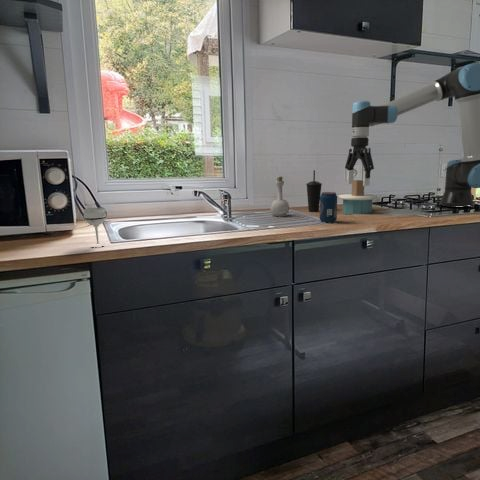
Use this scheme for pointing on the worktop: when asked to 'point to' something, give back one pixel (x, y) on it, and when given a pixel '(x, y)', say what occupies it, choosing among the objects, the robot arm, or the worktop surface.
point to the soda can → (328, 207)
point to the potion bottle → (279, 201)
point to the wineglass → (95, 217)
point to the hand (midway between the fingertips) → (358, 184)
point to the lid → (357, 192)
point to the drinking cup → (313, 195)
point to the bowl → (357, 206)
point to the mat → (402, 212)
